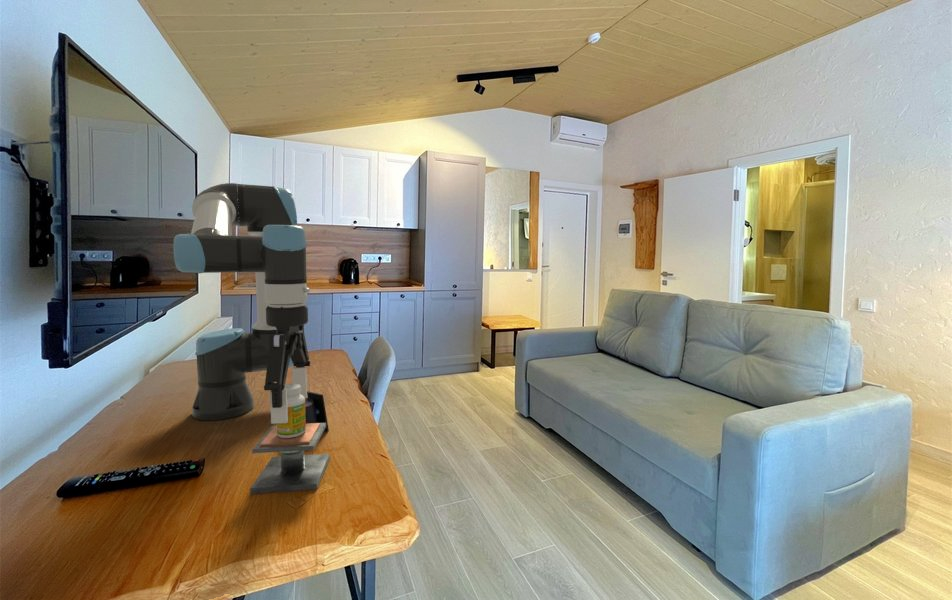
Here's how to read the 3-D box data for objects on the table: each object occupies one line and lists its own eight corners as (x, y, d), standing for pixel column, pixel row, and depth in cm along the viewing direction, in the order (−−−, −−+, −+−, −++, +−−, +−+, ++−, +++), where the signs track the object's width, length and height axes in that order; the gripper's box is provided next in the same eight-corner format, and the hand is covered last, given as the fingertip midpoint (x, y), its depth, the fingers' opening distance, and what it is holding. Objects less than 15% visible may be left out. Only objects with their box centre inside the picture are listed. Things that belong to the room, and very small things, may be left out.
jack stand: (272, 462, 88) (270, 422, 87) (329, 458, 90) (328, 419, 89) (250, 494, 76) (248, 448, 75) (317, 489, 78) (315, 444, 77)
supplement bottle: (294, 440, 79) (293, 392, 78) (270, 437, 80) (268, 389, 79) (311, 428, 84) (310, 383, 83) (288, 426, 85) (287, 381, 84)
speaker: (320, 423, 108) (315, 387, 106) (329, 431, 104) (324, 394, 102) (290, 434, 103) (285, 396, 101) (299, 443, 99) (293, 404, 96)
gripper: (287, 314, 67) (291, 435, 70) (321, 297, 92) (323, 387, 94) (239, 314, 66) (245, 437, 69) (286, 297, 91) (290, 388, 93)
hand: (290, 408), depth 82 cm, fingers open, 13 cm apart
